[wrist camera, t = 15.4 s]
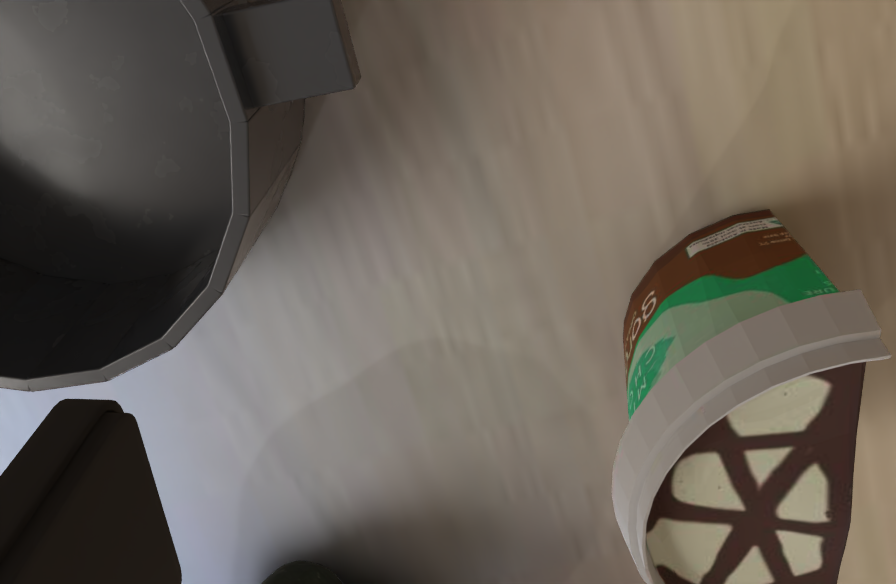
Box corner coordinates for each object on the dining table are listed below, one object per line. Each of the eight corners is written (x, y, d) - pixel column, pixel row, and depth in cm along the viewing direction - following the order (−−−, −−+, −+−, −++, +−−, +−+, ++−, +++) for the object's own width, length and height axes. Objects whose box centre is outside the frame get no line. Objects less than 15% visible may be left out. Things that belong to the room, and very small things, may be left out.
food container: (580, 186, 27) (608, 356, 19) (771, 167, 26) (895, 335, 18) (599, 466, 33) (627, 693, 25) (755, 457, 32) (841, 689, 24)
